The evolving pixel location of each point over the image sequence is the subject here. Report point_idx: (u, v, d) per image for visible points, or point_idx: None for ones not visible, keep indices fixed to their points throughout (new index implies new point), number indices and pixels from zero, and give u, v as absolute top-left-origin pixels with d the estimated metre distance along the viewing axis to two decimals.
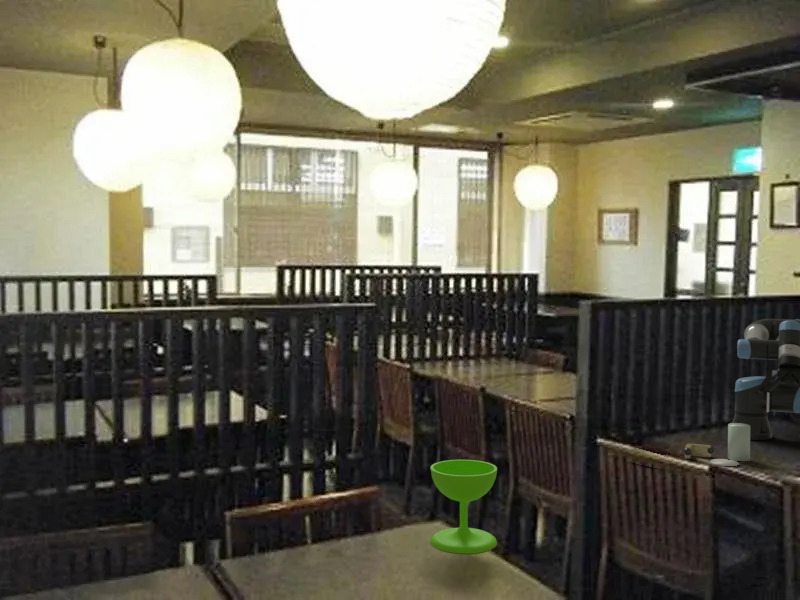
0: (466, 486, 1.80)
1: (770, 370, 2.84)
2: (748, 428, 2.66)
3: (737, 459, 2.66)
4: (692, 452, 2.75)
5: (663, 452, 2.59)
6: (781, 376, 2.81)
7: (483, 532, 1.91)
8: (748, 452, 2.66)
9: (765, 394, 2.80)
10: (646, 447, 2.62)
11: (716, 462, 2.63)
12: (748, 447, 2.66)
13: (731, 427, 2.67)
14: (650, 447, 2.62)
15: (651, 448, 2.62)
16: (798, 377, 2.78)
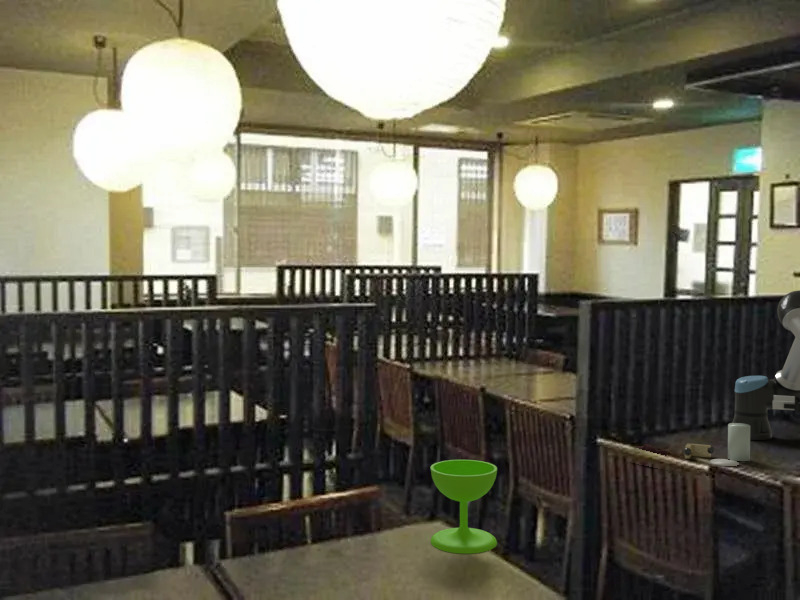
0: (466, 486, 1.80)
1: None
2: (748, 428, 2.66)
3: (737, 459, 2.66)
4: (692, 452, 2.75)
5: (664, 452, 2.59)
6: None
7: (483, 532, 1.91)
8: (748, 452, 2.66)
9: (792, 408, 2.54)
10: (647, 447, 2.62)
11: (716, 462, 2.63)
12: (748, 447, 2.66)
13: (731, 427, 2.67)
14: (651, 447, 2.62)
15: (652, 448, 2.62)
16: None
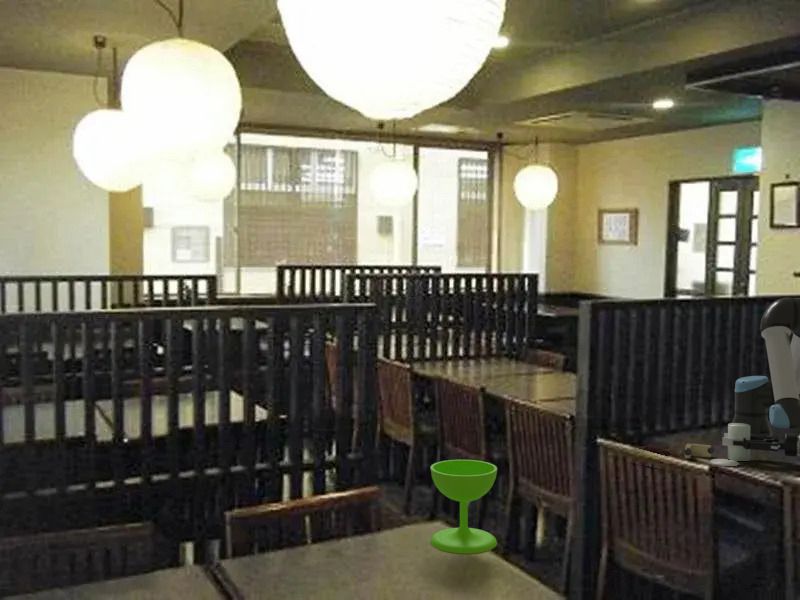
0: (466, 486, 1.80)
1: None
2: (748, 428, 2.66)
3: (737, 459, 2.66)
4: (692, 452, 2.75)
5: (666, 452, 2.58)
6: None
7: (483, 532, 1.91)
8: (748, 452, 2.66)
9: (741, 445, 2.64)
10: (649, 447, 2.62)
11: (716, 462, 2.63)
12: None
13: (731, 427, 2.67)
14: (653, 447, 2.62)
15: (654, 448, 2.61)
16: None
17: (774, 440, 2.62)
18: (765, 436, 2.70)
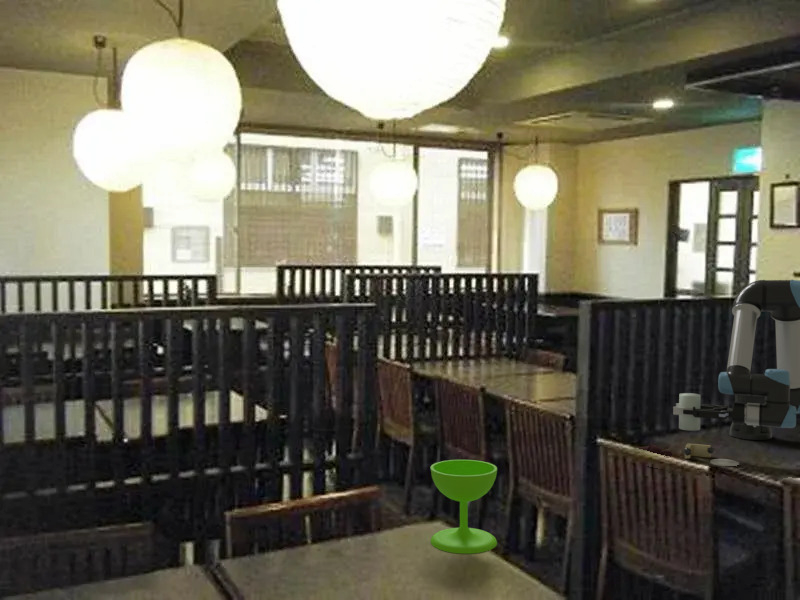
0: (466, 486, 1.80)
1: (722, 418, 2.65)
2: (698, 397, 2.72)
3: (687, 428, 2.72)
4: (692, 452, 2.75)
5: (668, 453, 2.58)
6: None
7: (483, 532, 1.91)
8: (698, 421, 2.72)
9: None
10: (652, 447, 2.62)
11: (716, 462, 2.63)
12: None
13: (682, 396, 2.74)
14: (656, 447, 2.61)
15: (657, 448, 2.61)
16: None
17: (723, 409, 2.68)
18: (715, 406, 2.76)
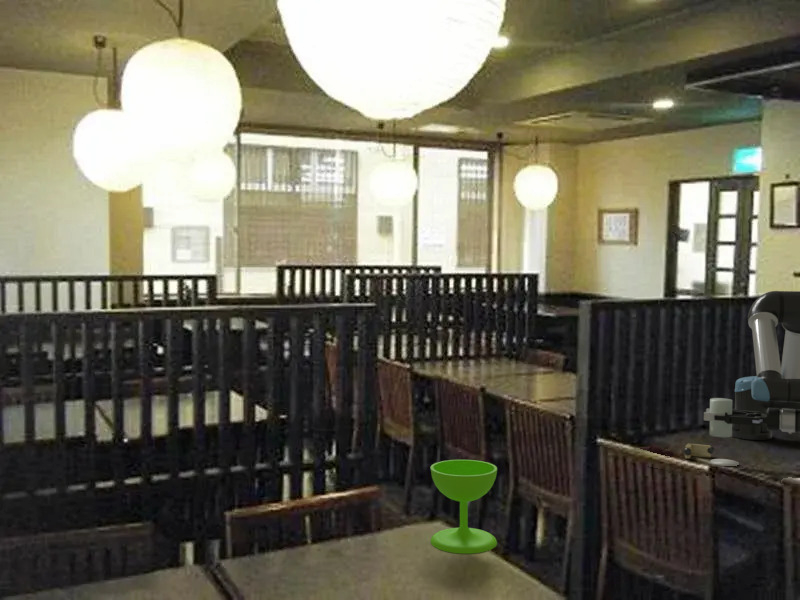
0: (466, 486, 1.80)
1: None
2: (730, 402, 2.61)
3: (719, 434, 2.61)
4: (692, 452, 2.75)
5: (670, 453, 2.58)
6: None
7: (483, 532, 1.91)
8: (730, 427, 2.61)
9: None
10: (653, 447, 2.61)
11: (716, 462, 2.63)
12: None
13: (713, 402, 2.62)
14: (657, 448, 2.61)
15: (658, 449, 2.61)
16: None
17: (756, 414, 2.57)
18: (748, 411, 2.65)
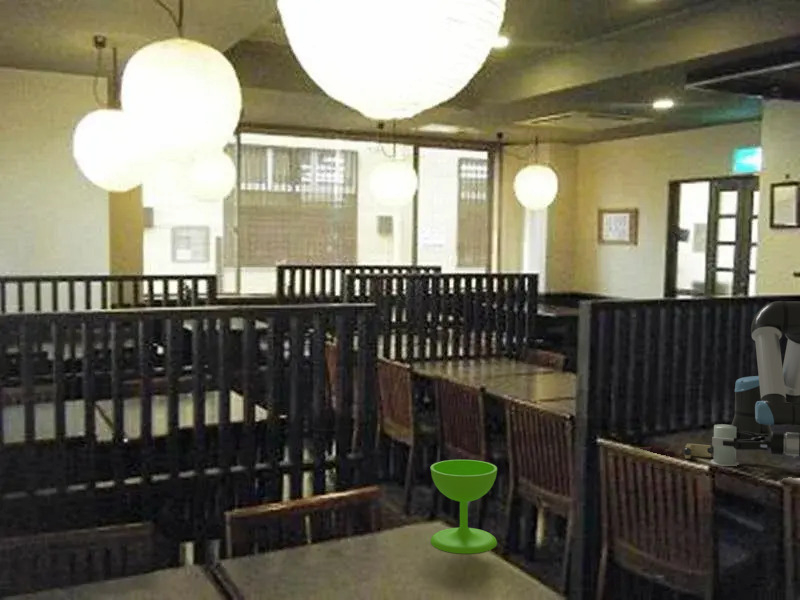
0: (466, 486, 1.80)
1: (764, 449, 2.52)
2: (734, 430, 2.60)
3: (723, 461, 2.60)
4: (692, 452, 2.75)
5: (671, 453, 2.57)
6: None
7: (483, 532, 1.91)
8: (734, 454, 2.61)
9: (731, 445, 2.55)
10: (655, 448, 2.61)
11: None
12: (734, 449, 2.60)
13: (717, 429, 2.61)
14: (659, 448, 2.61)
15: (660, 449, 2.61)
16: None
17: (761, 438, 2.56)
18: (755, 433, 2.65)
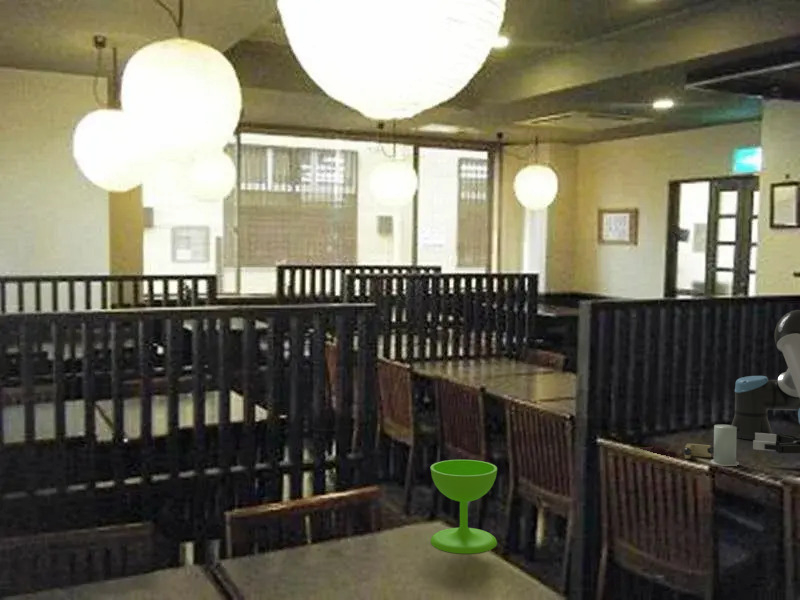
0: (466, 486, 1.80)
1: None
2: (734, 430, 2.60)
3: (723, 461, 2.60)
4: (692, 452, 2.75)
5: (672, 453, 2.57)
6: None
7: (483, 532, 1.91)
8: (734, 454, 2.61)
9: None
10: (656, 448, 2.61)
11: None
12: (734, 449, 2.60)
13: (717, 429, 2.62)
14: (660, 448, 2.61)
15: (661, 449, 2.60)
16: None
17: None
18: (795, 437, 2.59)
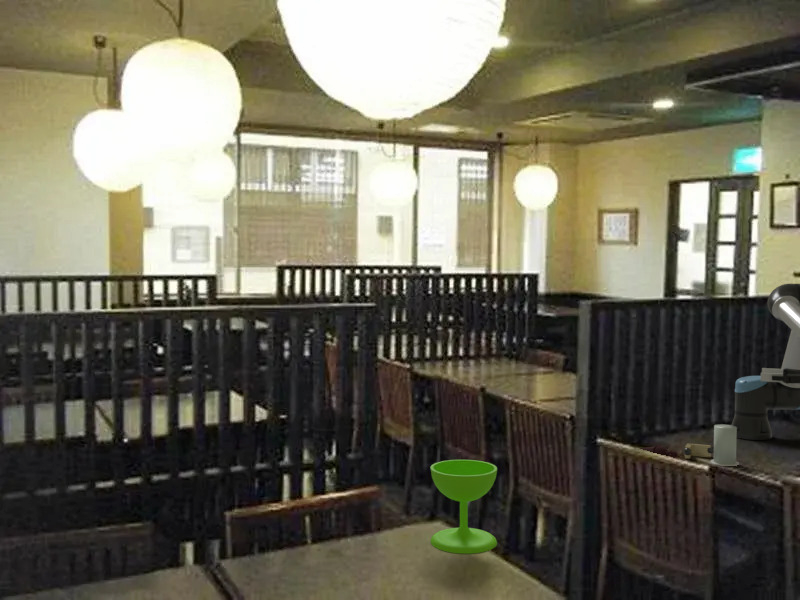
0: (466, 486, 1.80)
1: None
2: (734, 430, 2.60)
3: (723, 461, 2.60)
4: (692, 452, 2.75)
5: (673, 453, 2.57)
6: None
7: (483, 532, 1.91)
8: (734, 454, 2.61)
9: (780, 380, 2.53)
10: (657, 448, 2.61)
11: None
12: (734, 449, 2.60)
13: (717, 429, 2.62)
14: (661, 448, 2.61)
15: (662, 449, 2.60)
16: None
17: None
18: None
